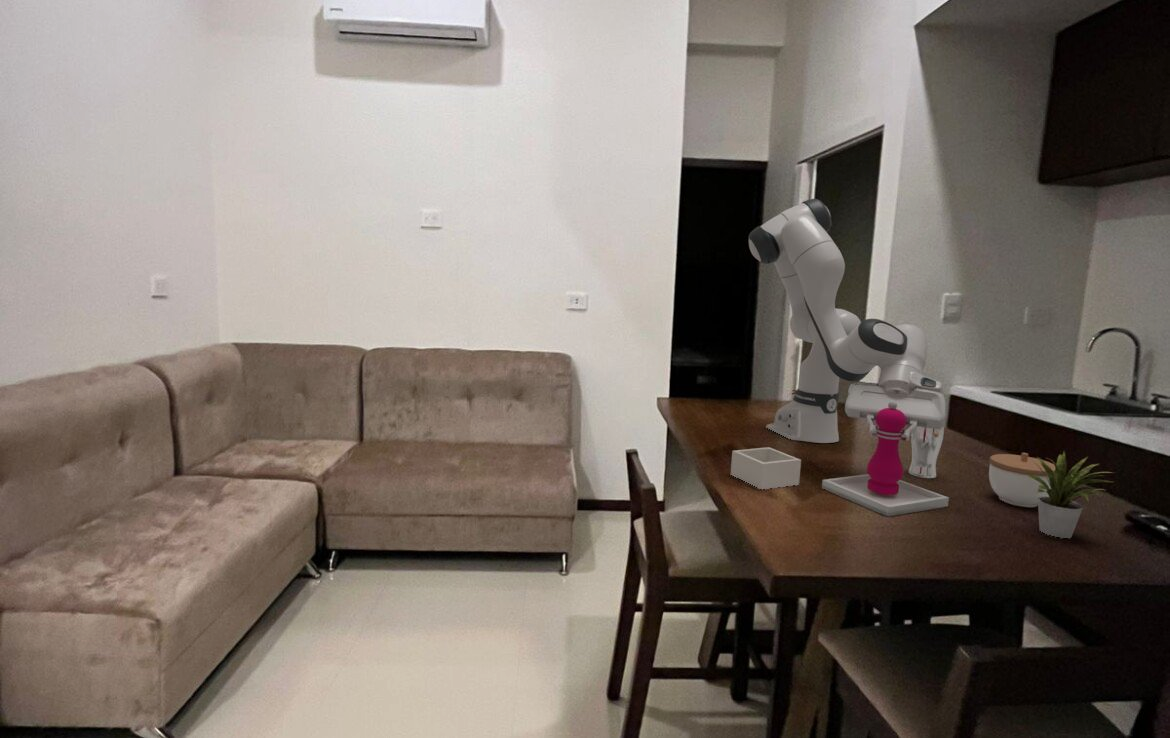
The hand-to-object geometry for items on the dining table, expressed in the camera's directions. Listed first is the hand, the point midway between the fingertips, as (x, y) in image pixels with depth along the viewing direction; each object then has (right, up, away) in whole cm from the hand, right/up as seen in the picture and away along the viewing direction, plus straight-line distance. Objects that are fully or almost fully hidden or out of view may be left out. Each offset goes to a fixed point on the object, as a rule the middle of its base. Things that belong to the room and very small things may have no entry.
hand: (888, 436), depth 140 cm
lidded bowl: (+30, -15, +3) cm, 34 cm away
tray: (0, -14, +3) cm, 14 cm away
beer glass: (+18, -12, +21) cm, 30 cm away
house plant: (+25, -18, -15) cm, 34 cm away
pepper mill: (0, -12, +2) cm, 13 cm away
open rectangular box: (-24, -11, +11) cm, 29 cm away
